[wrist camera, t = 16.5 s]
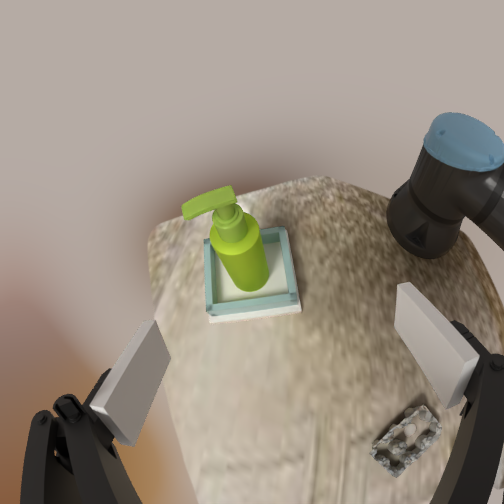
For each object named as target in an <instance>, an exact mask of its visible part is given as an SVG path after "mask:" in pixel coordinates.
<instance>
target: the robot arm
mask: <svg viewBox="0 0 504 504" xmlns="http://www.w3.org/2000/svg"><path fill="white" fill-rule="evenodd" d="M465 216H466V217H467V218H469V219H470V220H471V221H473V223H475V224H476V225H477V226H478V227H479V228H480V229H481V230H482V231H484V232H485V233H486V234H487V235H488V236H489V237H490V238H491V239H492V240H493V241H494V242H495V243H496V244H497V245H498V246H499V247H500V248H501V249H502V250H503V251H504V144H503V142H502V140H501V139H500V138H499V137H498V136H496V135H495V132H494V131H493V130H492V129H491V128H490V127H488V126H487V125H485V124H484V123H482V122H481V121H479V120H477V119H475V118H473V117H471V116H468V115H465V114H461V113H452V112H449V113H443V114H440V115H439V116H437V117H436V118H435V119H434V120H433V122H432V124H431V126H430V129H429V131H428V133H427V134H426V135H425V138H424V144H423V147H422V150H421V152H420V155H419V158H418V160H417V162H416V165H415V167H414V170H413V172H412V174H411V177H410V179H409V180H408V181H407V182H405V183H404V184H403V185H402V186H401V187H400V188H398V189H397V190H396V191H395V192H394V194H393V195H392V198H391V199H390V202H389V204H388V207H387V222H388V226H389V228H390V231H391V233H392V234H393V236H394V238H395V239H396V240H397V242H398V243H399V244H400V245H401V246H402V247H403V248H405V249H406V250H407V251H409V252H410V253H412V254H414V255H416V256H418V257H421V258H426V259H434V258H439V257H441V256H443V255H445V254H446V253H447V252H448V251H449V250H450V249H451V248H452V247H453V245H454V244H455V242H456V240H457V238H458V234H459V230H460V226H461V223H462V220H463V218H464V217H465ZM394 328H395V329H396V331H397V332H398V334H399V335H400V337H401V338H402V340H403V341H404V343H405V344H406V346H407V347H408V349H409V350H410V352H411V353H412V355H413V356H414V358H415V360H416V361H417V363H418V364H419V366H420V368H421V369H422V371H423V372H424V374H425V376H426V377H427V379H428V381H429V382H430V384H431V386H432V387H433V389H434V391H435V392H436V394H437V396H438V398H439V399H440V401H441V403H442V405H443V406H444V408H445V410H446V409H449V408H451V407H453V406H455V405H457V404H459V403H460V401H461V399H462V397H463V395H465V397H466V398H467V402H466V403H465V405H464V407H463V409H462V411H461V413H460V416H462V419H461V423H460V427H459V430H458V433H457V437H456V440H455V443H454V446H453V449H452V452H451V455H450V458H449V460H448V463H447V466H446V468H445V471H444V473H443V476H442V478H441V481H440V483H439V485H438V487H437V490H436V492H435V494H434V496H433V498H432V500H431V502H430V504H487V502H488V499H489V496H490V494H491V491H492V487H493V484H494V481H495V477H496V474H497V470H498V466H499V462H500V457H501V453H502V448H503V443H504V356H503V355H500V354H490V353H489V352H488V350H487V349H486V348H485V347H484V346H483V345H482V344H481V343H480V342H479V341H478V340H477V338H476V337H474V335H473V334H472V333H471V332H469V330H468V329H467V328H466V327H465V326H464V325H463V324H461V323H459V322H457V321H455V320H454V321H451V322H449V321H448V320H447V319H446V318H445V317H444V316H443V315H442V314H441V313H440V312H439V311H438V310H437V309H436V308H435V307H434V305H433V304H432V303H431V302H430V301H429V300H428V299H427V298H426V297H425V296H424V295H423V294H421V293H420V292H419V291H418V290H417V289H416V288H415V287H414V286H413V285H412V284H411V283H410V282H406V283H402V284H397V299H396V312H395V323H394ZM170 360H171V357H170V354H169V352H168V350H167V347H166V345H165V342H164V340H163V338H162V335H161V333H160V330H159V328H158V325H157V322H156V320H148V321H143V323H142V324H141V326H140V327H139V329H138V330H137V332H136V333H135V335H134V336H133V338H132V339H131V341H130V342H129V344H128V345H127V347H126V348H125V350H124V351H123V353H122V354H121V356H120V357H119V359H118V360H117V362H116V363H115V365H114V366H113V368H112V369H108V370H107V371H106V372H105V373H103V374H102V375H101V377H100V379H99V380H98V383H96V385H95V386H94V389H92V391H91V392H90V394H89V395H88V397H87V399H86V400H85V402H84V403H83V405H81V404H80V402H79V401H78V399H77V398H76V397H75V396H74V395H73V394H66V395H63V396H61V397H59V398H58V399H57V400H56V401H55V403H54V405H53V409H54V411H55V412H56V413H57V415H58V416H59V417H56V418H55V417H54V416H53V415H52V414H51V412H50V411H48V410H42V411H39V412H38V413H36V415H35V416H34V417H33V419H32V422H31V427H30V431H29V436H28V442H27V447H26V452H25V459H24V466H23V475H22V484H21V497H20V504H142V502H141V500H140V498H139V497H138V495H137V493H136V491H135V489H134V487H133V485H132V483H131V481H130V479H129V477H128V475H127V473H126V470H125V469H124V466H123V464H122V462H121V459H120V457H119V454H118V452H117V450H116V447H115V446H114V444H113V443H112V441H113V439H114V437H115V438H116V439H117V441H118V442H119V443H120V444H123V445H128V446H133V447H134V446H135V444H136V441H137V439H138V436H139V434H140V431H141V429H142V426H143V424H144V422H145V419H146V417H147V414H148V411H149V409H150V407H151V404H152V402H153V400H154V397H155V395H156V392H157V389H158V388H159V385H160V383H161V381H162V378H163V376H164V373H165V371H166V369H167V366H168V364H169V362H170ZM462 414H463V415H462ZM54 450H55V451H56V452H57V454H56V456H55V455H54ZM502 504H504V493H503V502H502Z"/></svg>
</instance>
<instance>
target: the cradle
mask: <svg viewBox="0 0 504 504" xmlns="http://www.w3.org/2000/svg"><path fill="white" fill-rule="evenodd" d="M260 234H261V238H262V243H263V247H264V251H265V256H266V260H267V265H268V269H269V278H268V281H267V283H266V284H265V285H264V286H263V287H262V288H261V289H259V290H257V291H254V292H245V291H242V290H240V289H239V288H237V287H236V286H235V284H234V282H233V281H232V279H231V277H230V276H229V274H228V272H227V270H226V269H225V267H224V265H223V263H222V262H221V260H220V258H219V257H218V255H217V253H216V251H215V250H214V248H213V246H212V244H211V242H210V238H208V239H204V270H205V296H206V312H207V313H208V314H209V323H210V324H211V325H214V324H223V323H231V322H240V321H247V320H255V319H262V318H269V317H276V316H283V315H289V314H296V313H301V311H302V310H301V304H300V298H299V293H298V287H297V281H296V275H295V270H294V264H293V259H292V254H291V248H290V243H289V238H288V233H287V230H285V227H284V226H280V227H274V228H267V229H261V230H260Z"/></svg>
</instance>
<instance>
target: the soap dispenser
mask: <svg viewBox="0 0 504 504" xmlns="http://www.w3.org/2000/svg"><path fill="white" fill-rule="evenodd" d="M235 203H237V199H236V196H235V194H234V191H233V188H232V186H231V185H230V186H226V187H222V188H219V189H216V190H213V191H210V192H207V193H204V194H201V195H199V196H197V197H195V198H193V199H191V200H189V201H188V202H186V203H184V204H183V205H182V211H183V216H184V220H191V219H193V218H195V217H197V216H199V215H201V214H203V213H206V212H209V211H212V210H215V211H214V212H213V215H212V221H213V223H214V224H213V225H212V227H211V230H210V242H211V244H212V246H213V248H214V250H215V251H216V253H217V255H218V257H219V258H220V260H221V262H222V263H223V265H224V267H225V269H226V270H227V272H228V274H229V276H230V277H231V279H232V281H233V282H234V284H235V286H236V287H237V288H239V289H240V290H242V291H245V292H254V291H257V290H259V289H261V288H262V287H263V286H264V285H265V284H266V283H267V281H268V278H269V269H268V265H267V260H266V256H265V251H264V247H263V243H262V238H261V234H260V230H259V225H258V223H257V221H256V220H255V218H254V217H252V216H251V215H250V214H248V213H245V212H243V210H242V208H241V207H240V206H239V205H237V204H235Z"/></svg>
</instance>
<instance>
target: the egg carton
mask: <svg viewBox="0 0 504 504" xmlns="http://www.w3.org/2000/svg"><path fill="white" fill-rule="evenodd" d="M404 414H405V418H404V420H403V421H402V422H401V423H400V424H397V425H396V424H392V425H391V427H390V428H389V432H388V433H387V434H386V435H385V436H384V437H383V438H382V439H381V440H378V439H377V440H375V441H374V442H373V443H372V445H373V447H372V451H371V452H370V454H371V455H372V457H373V458H374V459H375V460H377V461H378V462H379V464H380V465H382V466H383V467H384V468H385V469H386V470H387V472H388V473H390V474H391V475H392V476H394V477H396V478H397V477H398V476H399V475H400V474H401V473H402V472H403V471H404V470H405V469H406V468H407V467H408V466H409V465H411V464H412V463H413V462H414V461H416V460H417V459H418V458H419V457H420V456H421V455H422V454H423V453H424V452H425V451H426V450H427V449H428V448H429V447H430V446H431V445H432V444H433V443H434V442H435V441H437V439H438V438H439V436H440V434H441V429H442V426H441V425H440V423H439V422H438V421H437V420H436V418H435V417H434V416H433V415H432V414H431V413H430V411H429V410H428V408H427V407H426V406H425V405H424V404H423V405H422V406H417V407H415V408H408V409H406V411H405V412H404ZM418 414H419V419H420V420H423V421H426V422H430V421H431V424H430V427H429V428H430V432H429V434H428V435H420V436H419V437H418V438H417V439H416V441H415V446H416V448H415V449H414V450H413V451H406V449H407V444H406V443H405V442H403V441H401V440H399V439H394V440H393V435H394V432H393V430H394V429H395V428H403V427H405V426H406V427H405V429H404V434H405V436H412V435H413V434H415V432H416V429H417V427H416V425H415V424H414V423H411V420H412V418H414V417H415V416H416V415H418ZM409 423H410V424H409ZM390 441H391V442H390ZM387 442H390V443H389V444H388V451H389V452H391V453H392V454H394V455H400V458H399V461H400V463H399V464H398V465H397V466H396V467H395V466H390V463H389V462H390V460H389V459H388V458H386V457H385V456H383V455H376V456H375V457H374V455H375V454H376V453H377V449H376V446H377V445H378V444H379V443H387Z"/></svg>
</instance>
